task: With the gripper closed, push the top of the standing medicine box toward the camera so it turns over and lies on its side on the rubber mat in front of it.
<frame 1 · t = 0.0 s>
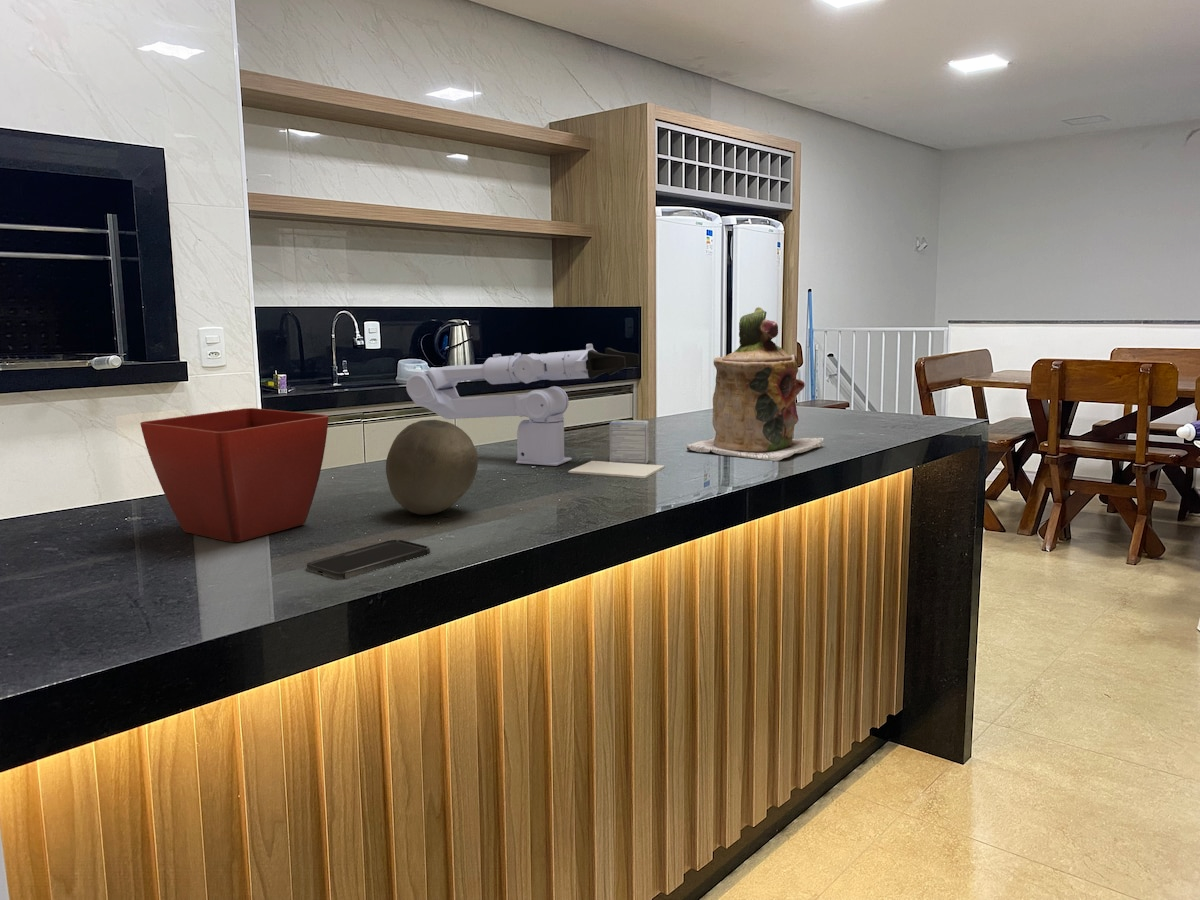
hand: (632, 360, 178), 22 cm above the countertop, tool horizontal, fingers open, 7 cm apart
plant pot: (244, 530, 135), on the countertop
medicine box: (629, 463, 189), on the countertop
cookie jar: (755, 450, 204), on the countertop
mat: (617, 470, 180), on the countertop
phone: (370, 564, 118), on the countertop
cantaloupe: (433, 514, 144), on the countertop
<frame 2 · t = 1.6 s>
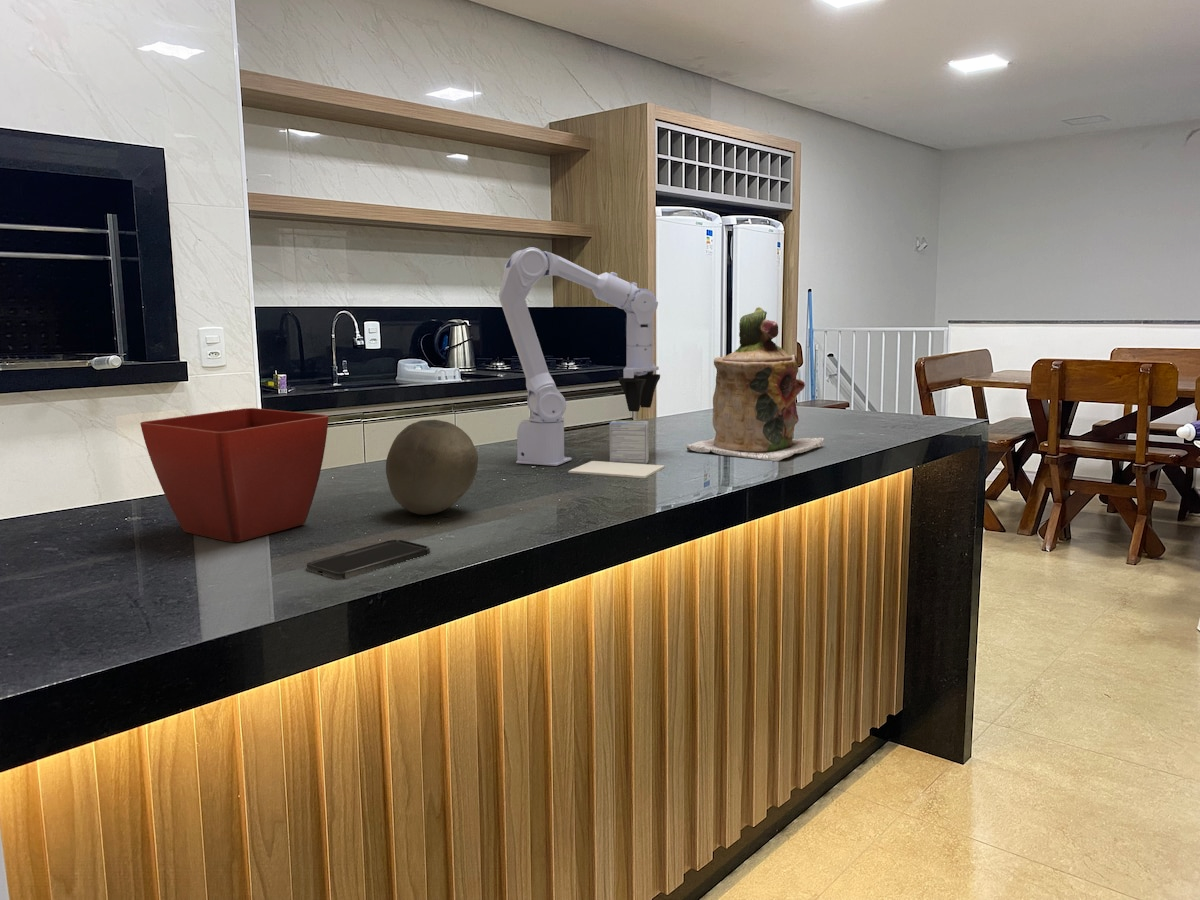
hand: (639, 409, 193), 10 cm above the countertop, tool pointing down, fingers open, 7 cm apart
nothing on the countertop moved.
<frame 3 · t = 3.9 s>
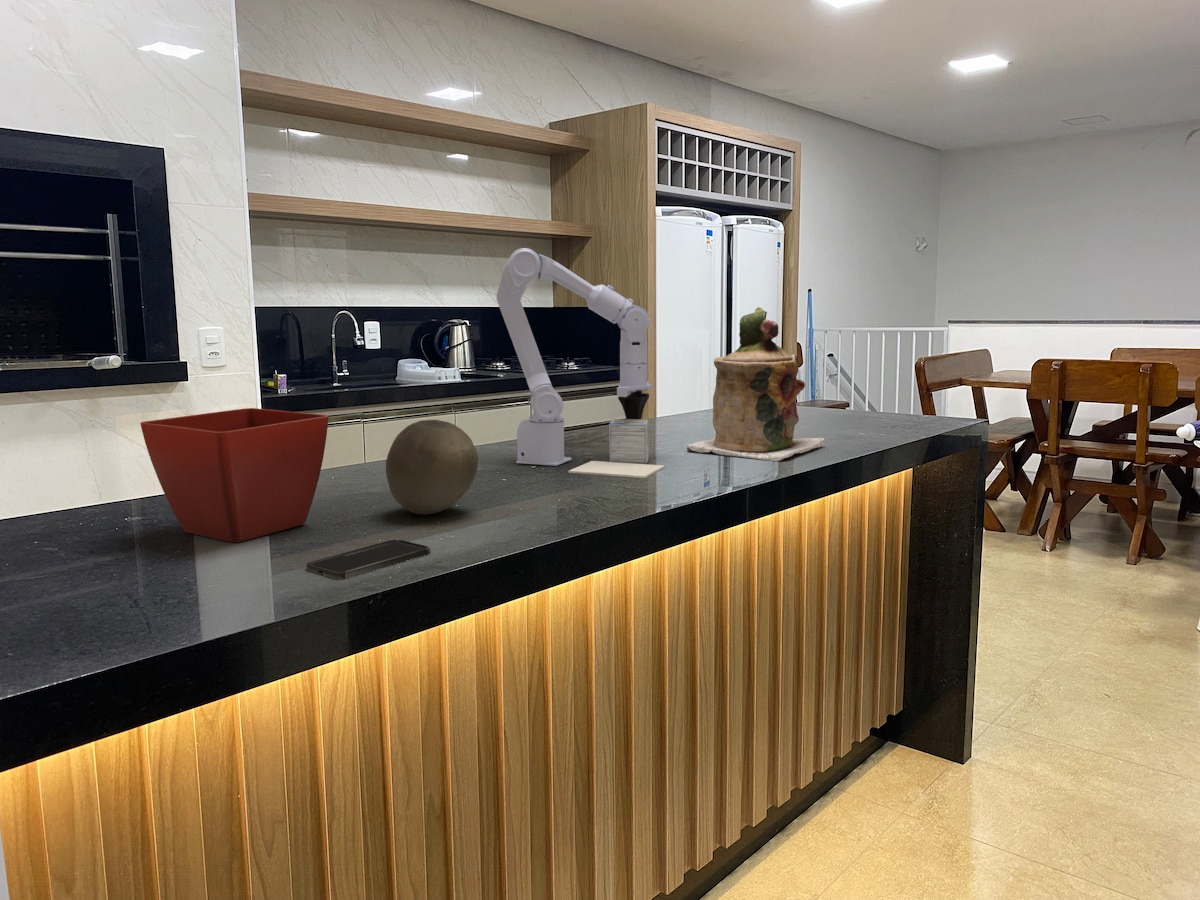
hand: (633, 427, 190), 7 cm above the countertop, tool pointing down, fingers closed
medicine box: (629, 462, 189), on the countertop, touching gripper
everything else where it was.
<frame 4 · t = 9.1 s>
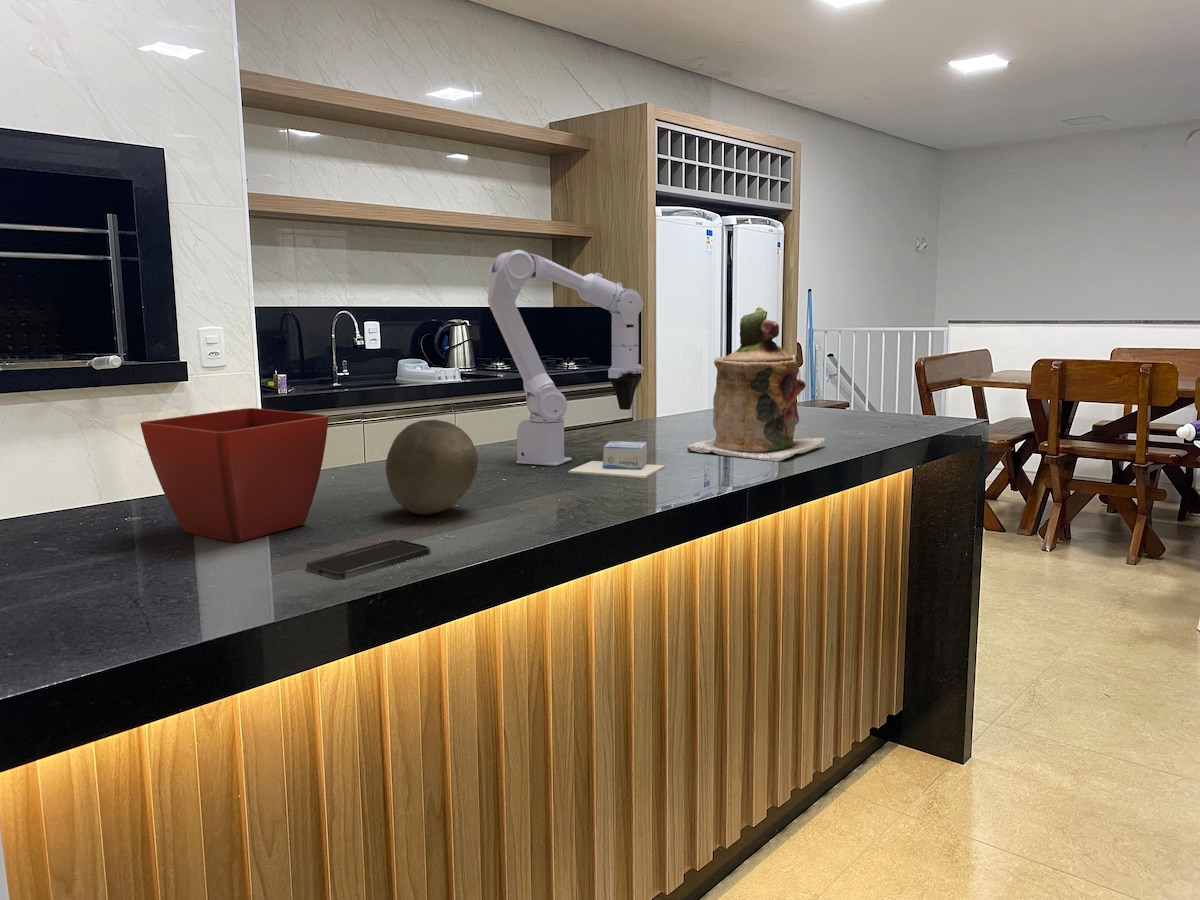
hand: (625, 409, 193), 10 cm above the countertop, tool pointing down, fingers closed
medicine box: (628, 451, 187), point 3 cm above the countertop, touching mat
everything else where it was.
at the end: medicine box tilted 89°; medicine box touching mat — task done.
